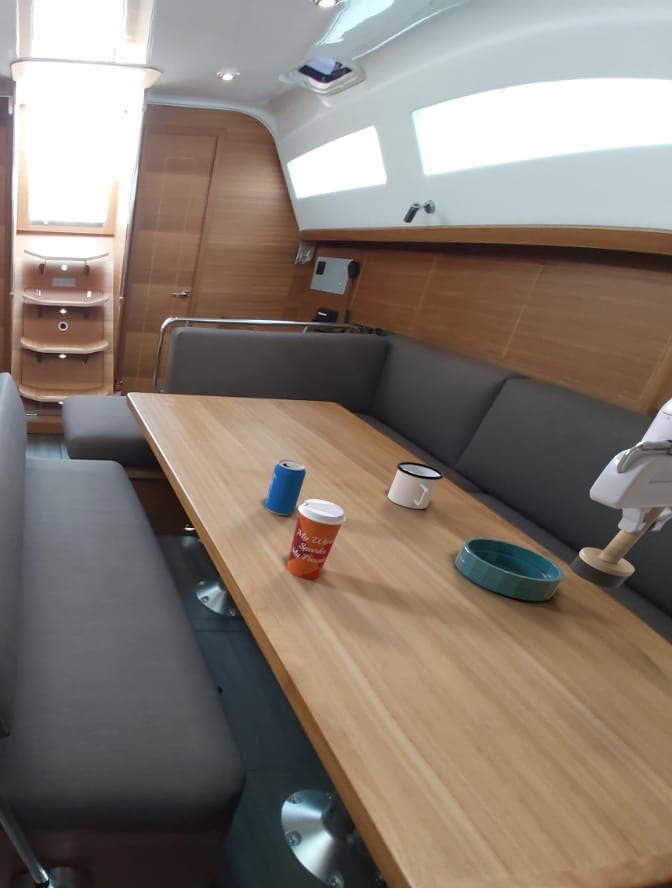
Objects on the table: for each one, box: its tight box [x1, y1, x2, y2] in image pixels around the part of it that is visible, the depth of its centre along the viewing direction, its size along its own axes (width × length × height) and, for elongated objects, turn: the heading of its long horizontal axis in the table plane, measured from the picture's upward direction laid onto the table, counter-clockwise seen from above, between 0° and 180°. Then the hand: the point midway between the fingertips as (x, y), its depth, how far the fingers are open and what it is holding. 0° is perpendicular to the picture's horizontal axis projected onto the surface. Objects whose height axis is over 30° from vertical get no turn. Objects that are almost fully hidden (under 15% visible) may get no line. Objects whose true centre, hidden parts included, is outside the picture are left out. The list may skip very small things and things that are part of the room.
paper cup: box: [286, 498, 347, 580], centre depth 93 cm, size 8×8×14 cm
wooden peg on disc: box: [569, 506, 667, 589], centre depth 73 cm, size 6×6×14 cm
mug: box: [387, 461, 445, 510], centre depth 122 cm, size 12×10×9 cm
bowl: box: [454, 536, 565, 602], centre depth 95 cm, size 14×14×5 cm
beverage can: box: [264, 459, 307, 516], centre depth 116 cm, size 6×6×12 cm
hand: (637, 529), depth 71 cm, fingers closed on wooden peg on disc
